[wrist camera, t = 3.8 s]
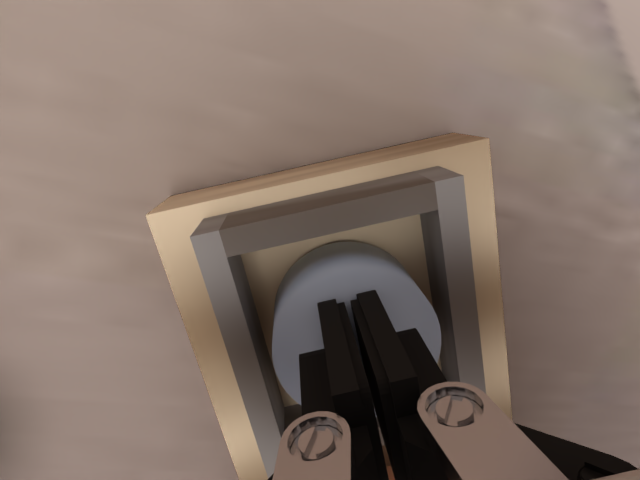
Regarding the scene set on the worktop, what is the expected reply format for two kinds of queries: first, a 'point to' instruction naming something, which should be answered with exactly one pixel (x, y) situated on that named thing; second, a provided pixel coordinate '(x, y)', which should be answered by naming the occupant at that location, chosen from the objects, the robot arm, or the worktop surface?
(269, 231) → the beige grey compartment tray
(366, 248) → the slate button
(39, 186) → the worktop surface
